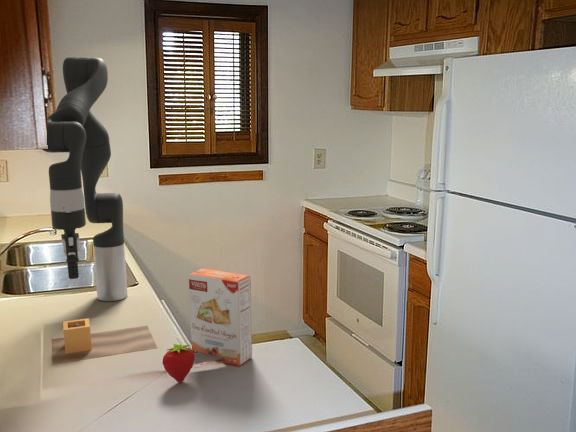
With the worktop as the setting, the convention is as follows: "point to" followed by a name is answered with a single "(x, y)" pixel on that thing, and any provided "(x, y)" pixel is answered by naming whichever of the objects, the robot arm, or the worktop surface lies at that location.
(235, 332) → the cracker box
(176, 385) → the worktop surface
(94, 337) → the board
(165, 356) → the strawberry
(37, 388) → the worktop surface
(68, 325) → the collar
